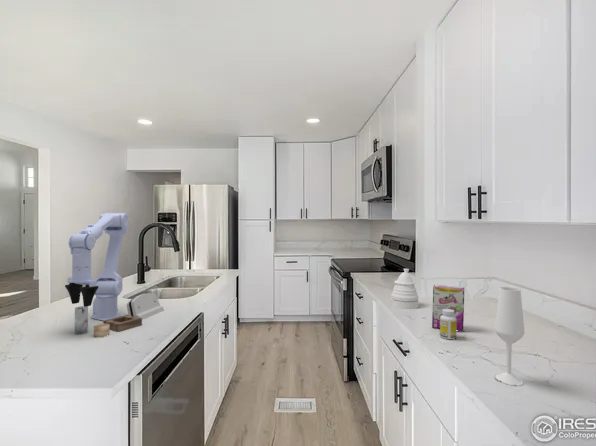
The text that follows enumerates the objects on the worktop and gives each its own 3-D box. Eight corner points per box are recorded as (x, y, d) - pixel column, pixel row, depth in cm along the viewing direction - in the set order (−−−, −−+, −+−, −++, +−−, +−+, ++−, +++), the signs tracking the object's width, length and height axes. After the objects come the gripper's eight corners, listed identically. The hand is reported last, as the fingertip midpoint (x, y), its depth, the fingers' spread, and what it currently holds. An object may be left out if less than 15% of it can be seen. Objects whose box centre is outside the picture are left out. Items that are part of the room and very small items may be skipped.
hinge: (139, 320, 138) (132, 297, 138) (130, 323, 139) (123, 300, 139) (164, 310, 154) (158, 289, 155) (155, 313, 155) (149, 292, 156)
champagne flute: (490, 372, 94) (492, 285, 94) (518, 376, 92) (520, 287, 92) (497, 383, 87) (499, 290, 87) (527, 387, 85) (529, 292, 85)
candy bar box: (431, 328, 132) (432, 286, 132) (432, 324, 137) (433, 284, 137) (463, 332, 128) (464, 289, 128) (463, 329, 132) (464, 286, 132)
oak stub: (90, 336, 119) (90, 326, 119) (104, 332, 123) (104, 322, 123) (99, 338, 117) (99, 328, 117) (112, 334, 121) (112, 324, 121)
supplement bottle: (455, 336, 124) (455, 309, 124) (457, 340, 119) (457, 312, 119) (439, 334, 126) (439, 307, 126) (440, 339, 121) (440, 311, 120)
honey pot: (396, 301, 177) (396, 266, 177) (421, 305, 169) (422, 269, 169) (387, 306, 166) (387, 269, 166) (413, 310, 159) (414, 272, 159)
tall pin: (72, 333, 122) (72, 308, 122) (83, 330, 125) (84, 305, 125) (78, 335, 120) (78, 309, 120) (90, 331, 123) (90, 307, 123)
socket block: (103, 327, 128) (103, 320, 128) (126, 321, 137) (126, 314, 137) (118, 331, 124) (118, 324, 124) (141, 324, 132) (141, 318, 132)
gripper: (58, 266, 122) (58, 304, 122) (81, 269, 115) (81, 309, 116) (79, 264, 129) (78, 300, 129) (102, 267, 122) (101, 305, 122)
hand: (81, 304), depth 123 cm, fingers open, 7 cm apart
